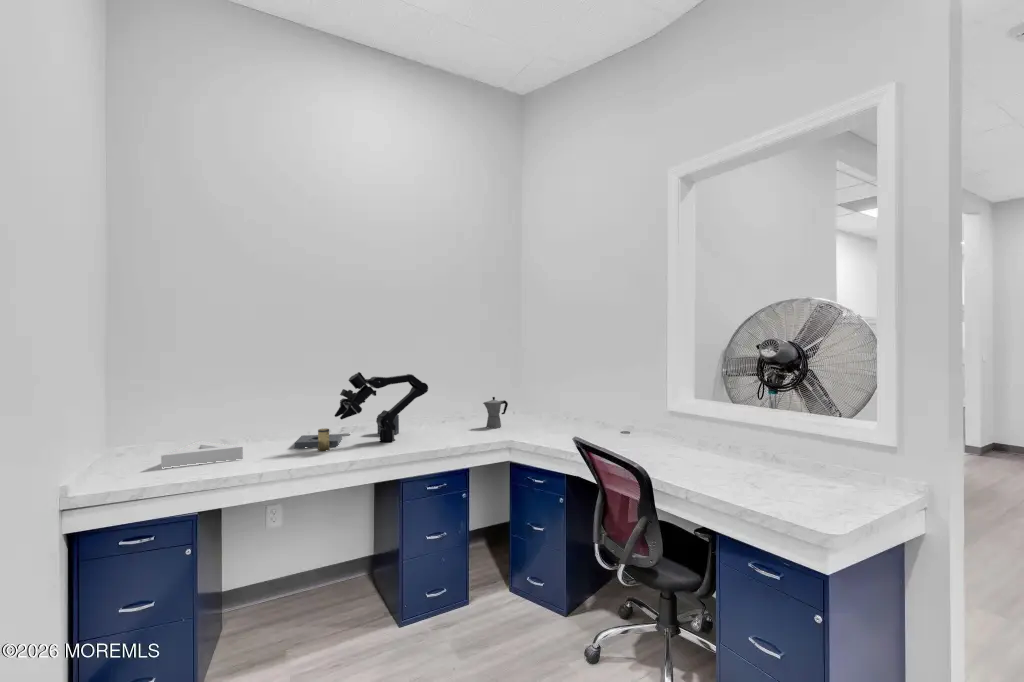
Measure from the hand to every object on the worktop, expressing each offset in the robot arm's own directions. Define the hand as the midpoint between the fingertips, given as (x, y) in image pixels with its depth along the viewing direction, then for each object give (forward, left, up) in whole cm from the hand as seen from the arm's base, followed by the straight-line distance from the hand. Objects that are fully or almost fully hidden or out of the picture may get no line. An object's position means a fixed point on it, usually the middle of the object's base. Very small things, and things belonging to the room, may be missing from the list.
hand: (337, 417), depth 259 cm
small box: (-14, -36, -15) cm, 41 cm away
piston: (+4, +7, -15) cm, 17 cm away
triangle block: (+44, +30, -15) cm, 56 cm away
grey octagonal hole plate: (+13, -7, -15) cm, 20 cm away
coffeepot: (-71, -62, -15) cm, 95 cm away
